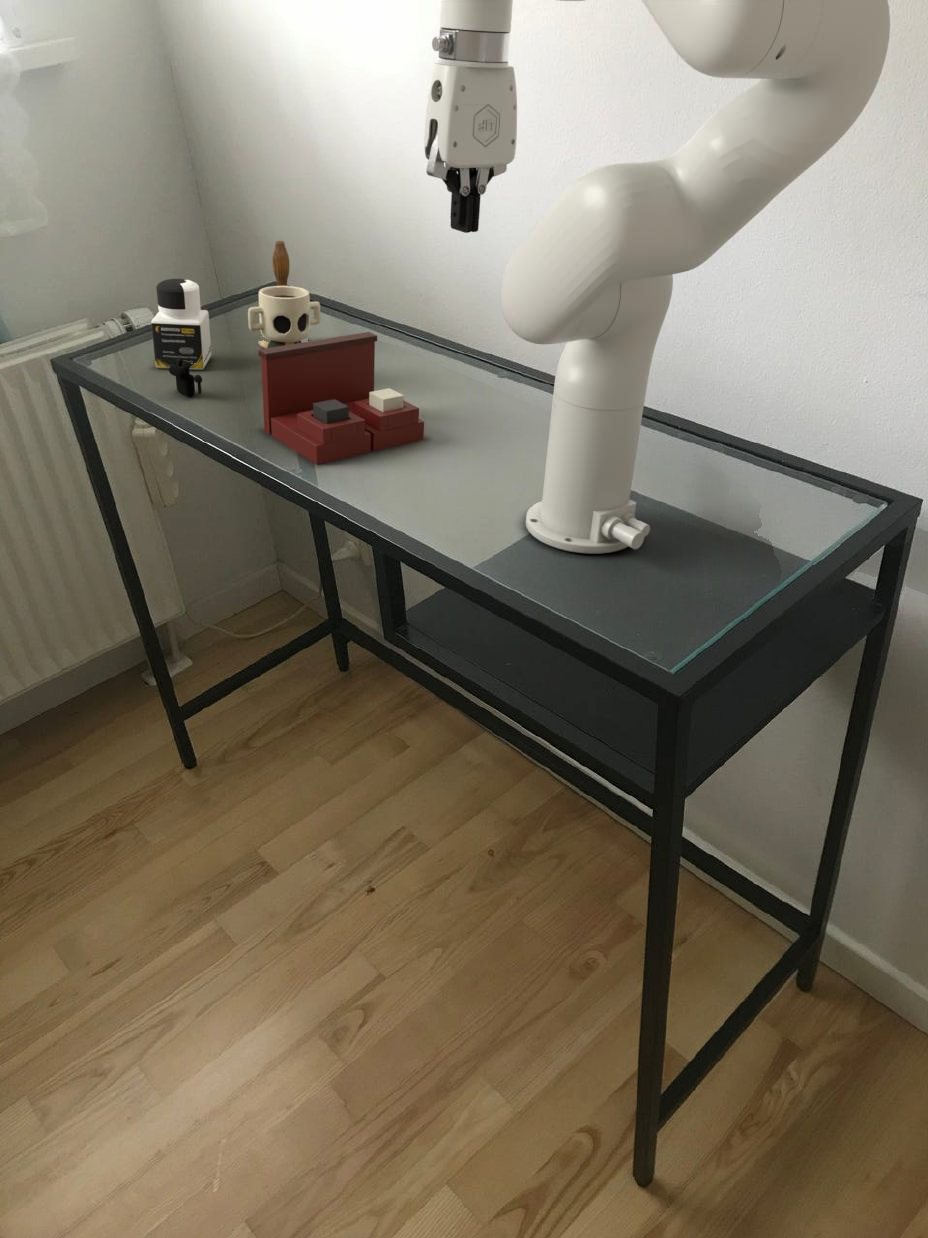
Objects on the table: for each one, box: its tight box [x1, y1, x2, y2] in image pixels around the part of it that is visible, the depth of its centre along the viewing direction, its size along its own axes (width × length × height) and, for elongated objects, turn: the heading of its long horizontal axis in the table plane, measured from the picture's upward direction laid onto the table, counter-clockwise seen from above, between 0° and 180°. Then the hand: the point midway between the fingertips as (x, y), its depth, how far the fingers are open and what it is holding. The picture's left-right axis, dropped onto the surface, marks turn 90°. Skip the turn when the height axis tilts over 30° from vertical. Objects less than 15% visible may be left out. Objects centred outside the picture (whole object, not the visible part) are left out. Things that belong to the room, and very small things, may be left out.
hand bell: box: [258, 240, 290, 349], centre depth 164 cm, size 8×8×16 cm
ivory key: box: [369, 387, 405, 412], centre depth 134 cm, size 3×3×2 cm
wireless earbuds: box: [168, 358, 203, 398], centre depth 144 cm, size 7×2×5 cm, turn 49°
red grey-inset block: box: [271, 410, 372, 466], centre depth 132 cm, size 11×8×4 cm
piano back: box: [257, 331, 378, 435], centre depth 137 cm, size 2×17×11 cm, turn 129°
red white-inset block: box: [343, 398, 425, 452], centre depth 137 cm, size 11×8×4 cm
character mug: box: [247, 285, 321, 348], centre depth 150 cm, size 11×7×13 cm, turn 121°
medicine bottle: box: [150, 278, 212, 371], centre depth 155 cm, size 7×7×12 cm
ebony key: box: [313, 399, 349, 425], centre depth 129 cm, size 3×3×2 cm
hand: (464, 229), depth 121 cm, fingers closed
